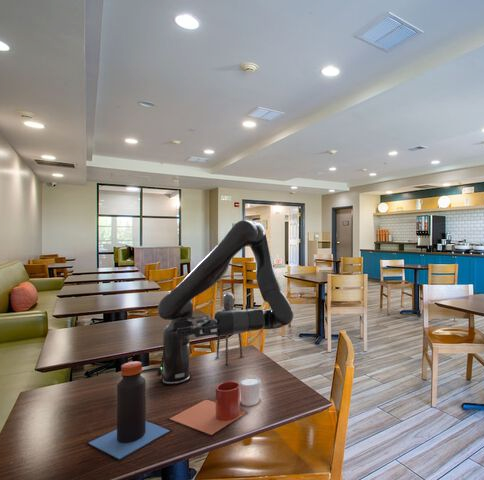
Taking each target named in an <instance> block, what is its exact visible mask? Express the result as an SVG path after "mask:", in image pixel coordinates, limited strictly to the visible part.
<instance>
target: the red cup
mask: <svg viewBox="0 0 484 480" xmlns="http://www.w3.org/2000/svg"><path fill="white" fill-rule="evenodd" d="M215 402H216V419H218V420H220V421H228V420H232V419H235V418H236V417H238V416H239V413H240V410H241V409H240V407H241V405H240V404H241V392H240V382H239V381H233V380H229V381H224V382H221V383H219V384H217V385H216V386H215Z"/></svg>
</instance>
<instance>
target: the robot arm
mask: <svg viewBox="0 0 484 480" xmlns="http://www.w3.org/2000/svg"><path fill="white" fill-rule="evenodd" d="M268 242H269V241H268V237H267V233H266V229H265V227H264V225H263V224H261V223H260V222H258V221H255V220H254V221H253V220H247V219H242V220H239V221H237V222H236V223H235V224H234V225H233V226H232V227H231V228H230V230H229V231H228V232H227V233H226V235H225V236H224V237H223V239H222V240H221V241H220V242H219V243H218V244H217V245H216V246H215V247H214V248H213V249H212V251H210V252H209V254H207V255H206V256H205V258H204V259H202V261H200V262H199V263H198V264H197V265H196V266H195V268H193V270H191V272H190V273H188V275H187V276H186V277H185V278H184V279H183V280H182V281H181V282H180V283H179V284H178V285H177V286H176V287H175V288H173V289H172V290H171V291H170V292H168V293H167V294H166V295H164V296H163V297H162V298H161V300H160V301H159V303H158V305H157V313H158V316H159V317H160V318H161V319H163V320H166V321H170V322H169V324H168V325H167V326H166V327H164V329H163V331H162V353H163V354H162V355H161V363H160V367H151V368H146V369H142V373H145V372H149V371H154V370H155V371H156V370H157V371H158V374H157V375H158V376H160V375H161V381H162V383H163V385H166V386H167V385H168V386H169V385H170V386H173V385H179V384H183V383H185V382H188V381H189V380H190V378H191V373H190V372H191V371H190V368H191V364H190V363H191V361H190V360H191V357H190V356H191V336H192V337H195V338H200V337H207V336H214V335H215V336H217V337H218V336H220V337H223V336H224V337H225V336H226V335H228V336H231V335H238V334H239V333H241V334H243V333H248V332H253V331H260V330H276V329H281V328H283V327H286V326H288V325H290V324H291V323H292V321H293V320H294V310H293V307H292V305H291V303H290V301H289V299H288V298H287V297H286V295H285V294H284V292H283V290H282V287H281V284H280V282H279V279H278V277H277V274H276V271H275V268H274V264H273V260H272V256H271V252H270V247H269V243H268ZM246 247H249V248H250V249H251V251H252V253H253V254H252V255H253V256H254V260H255V279H256V284H257V287H258V289H259V292H260V295H261V297H262V299H263V301H264V302H265V303H268V305H269V309H261V308H250V309H249V308H248V309H236V310H234V309H233V310H230V311H222V310H220V311H216V312H215V314H214V316H213V318H210V317H209V315H204V316H193V315H194V303H193V299H194V298H197V296H200V295H201V294H203V293H204V292H206V291H208V290H209V289H210V288H212V287H214V285H215V284H217V283H218V282H219V281H220V280H221V279H222V278H223V277H224V276H225V275H226V274H227V272H228V270H229V267H230V264H231V261H232V259H233V258H234V257H235V256H236V255H237V254H238V253H240V252H241V251H242V250H243V249H244V248H246Z"/></svg>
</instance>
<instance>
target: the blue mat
mask: <svg viewBox="0 0 484 480" xmlns="http://www.w3.org/2000/svg"><path fill="white" fill-rule="evenodd" d="M170 431H171V430H169V429H167V428H165V427H163V426H160V425H158V424H155V423H153V422H150V421H147V420H146V432H145V434H144V436H142V437H141V438H140V439H138V440H136V441H133V442H129V443H121V442H118V441H117V428H116V429H114V430H112V431H110V432H107V433H106V434H104V435H102V436H99V437H97V438H95V439H93V440H91V441H89V442H88V443H87V444H88V445H89V446H92V447H94V448H95V449H97V450H100V451H101V452H103V453H106V454H108V455H109V456H110V457H112V458H115V459H117V460H119V461H120V460H122V459H124V458H125V457H127V456H129V455H130V454H133V453H134V452H136V451H139V450H140V449H141V448H143V447H145V446H147V445H149V444H150V443H151V442H153V441H155V440H156V439H157V438H160V437H161V436H163V435H166V434H167V433H168V432H170Z"/></svg>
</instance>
